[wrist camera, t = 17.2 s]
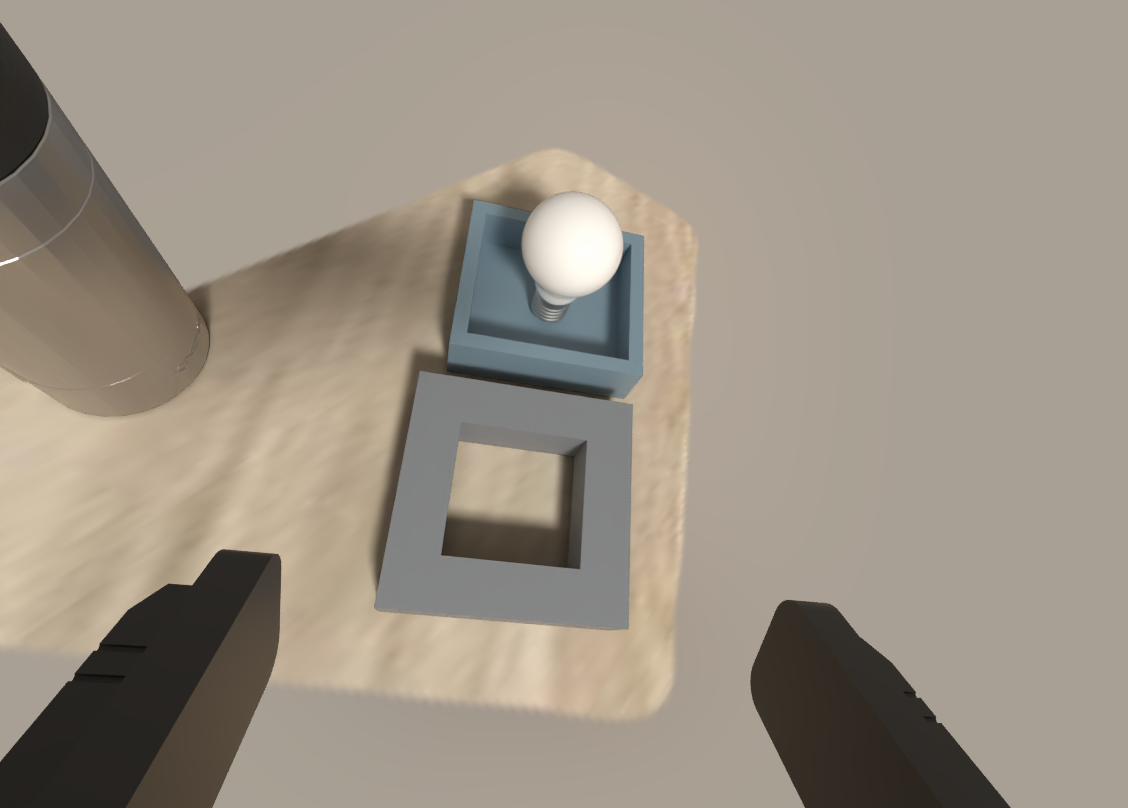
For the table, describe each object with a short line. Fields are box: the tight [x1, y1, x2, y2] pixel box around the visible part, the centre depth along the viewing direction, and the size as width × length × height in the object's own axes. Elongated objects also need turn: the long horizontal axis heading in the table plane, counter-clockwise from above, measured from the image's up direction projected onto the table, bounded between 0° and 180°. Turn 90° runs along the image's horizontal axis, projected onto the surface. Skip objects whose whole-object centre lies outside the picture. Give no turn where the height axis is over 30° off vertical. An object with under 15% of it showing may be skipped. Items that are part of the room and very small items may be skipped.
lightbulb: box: [521, 191, 623, 323], centre depth 37 cm, size 6×6×11 cm
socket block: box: [374, 371, 633, 630], centre depth 35 cm, size 14×14×4 cm
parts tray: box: [447, 200, 644, 399], centre depth 41 cm, size 13×12×4 cm
